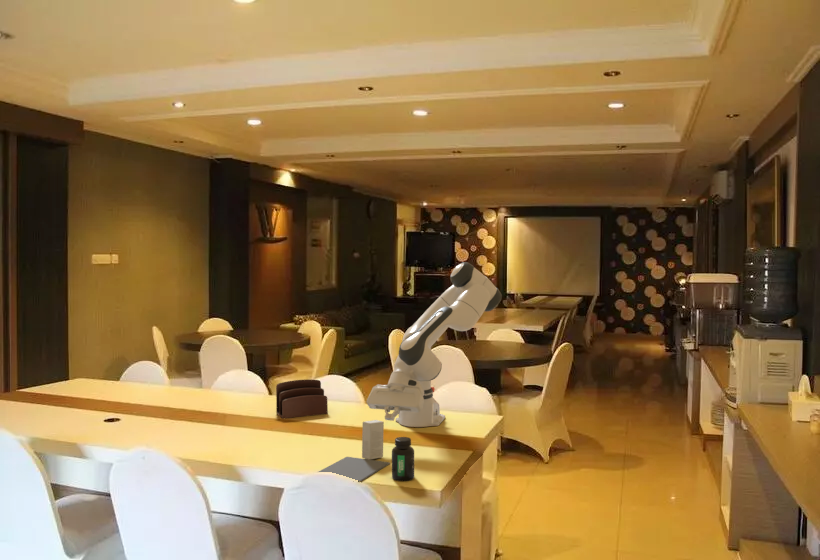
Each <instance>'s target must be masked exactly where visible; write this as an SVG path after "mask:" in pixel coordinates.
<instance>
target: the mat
mask: <svg viewBox="0 0 820 560" xmlns="http://www.w3.org/2000/svg"><path fill="white" fill-rule="evenodd" d="M389 465H390V462H389V461H382V460H375V459H371V460H369V459H365V458H362V457H353V456H345V457H344V458H340V460H338V461H336V462H334V463H331V464H330V465H329V466H327V467H324V468H323V469H321V470H319V471H318V472H332V473H336V474H339V475H343V476H346V477H349V478H352V479H355V480H358V481H361V482H363V481H365V480H366V479H368V478H369V477H371V476H373V475H374V474H376V473H377V472H379V471H380V470H382V469H384V468H386V467H387V466H389Z"/></svg>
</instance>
